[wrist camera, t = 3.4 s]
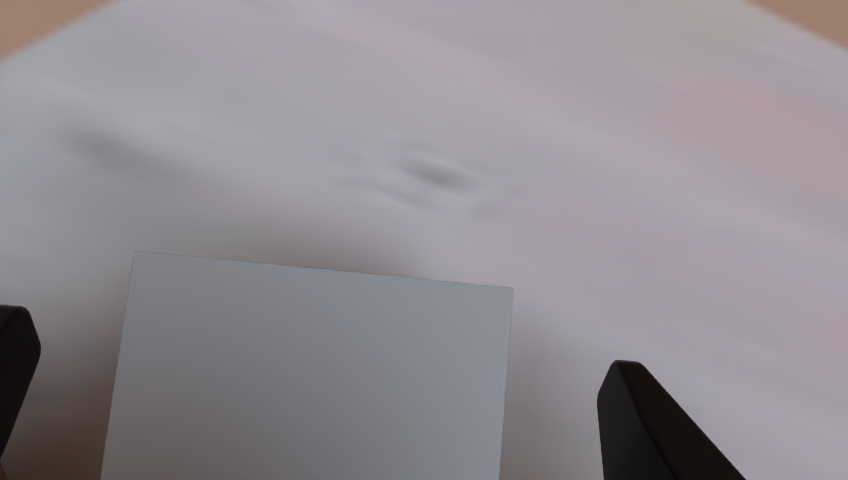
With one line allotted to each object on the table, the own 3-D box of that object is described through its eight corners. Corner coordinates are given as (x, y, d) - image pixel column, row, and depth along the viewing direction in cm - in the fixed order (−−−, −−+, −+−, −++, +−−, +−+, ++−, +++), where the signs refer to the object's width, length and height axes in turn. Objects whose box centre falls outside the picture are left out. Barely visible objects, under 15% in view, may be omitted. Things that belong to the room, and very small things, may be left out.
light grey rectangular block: (417, 474, 17) (483, 685, 7) (245, 461, 17) (72, 662, 7) (433, 304, 18) (513, 288, 8) (266, 288, 18) (134, 251, 8)
